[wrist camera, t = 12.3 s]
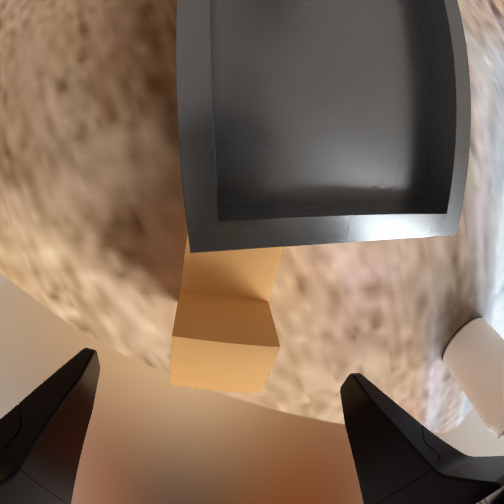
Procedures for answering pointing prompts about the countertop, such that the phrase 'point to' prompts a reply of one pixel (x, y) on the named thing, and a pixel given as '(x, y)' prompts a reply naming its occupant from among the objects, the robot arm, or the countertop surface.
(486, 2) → the countertop surface
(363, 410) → the robot arm
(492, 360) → the can
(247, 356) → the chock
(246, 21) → the tray
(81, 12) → the countertop surface
